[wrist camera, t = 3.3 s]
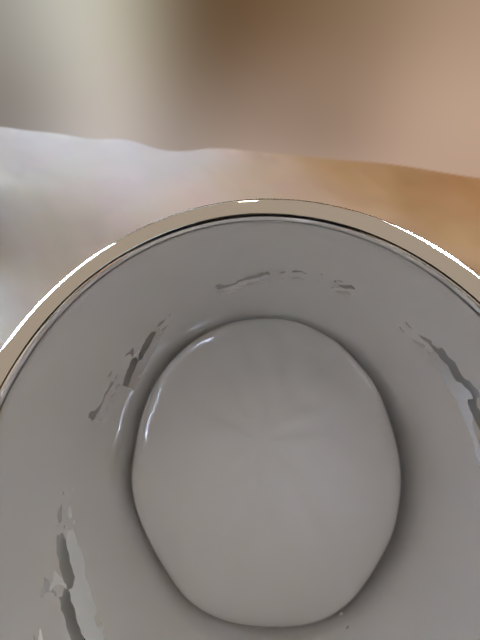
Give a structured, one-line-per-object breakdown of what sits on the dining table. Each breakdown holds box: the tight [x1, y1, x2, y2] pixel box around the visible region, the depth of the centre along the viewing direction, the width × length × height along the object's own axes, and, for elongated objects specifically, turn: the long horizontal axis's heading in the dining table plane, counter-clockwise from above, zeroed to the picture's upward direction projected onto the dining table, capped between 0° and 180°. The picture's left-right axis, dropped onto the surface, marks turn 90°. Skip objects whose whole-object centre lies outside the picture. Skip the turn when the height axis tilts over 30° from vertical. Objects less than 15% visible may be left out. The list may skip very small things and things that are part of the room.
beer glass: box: [0, 199, 480, 640], centre depth 9 cm, size 7×7×15 cm
